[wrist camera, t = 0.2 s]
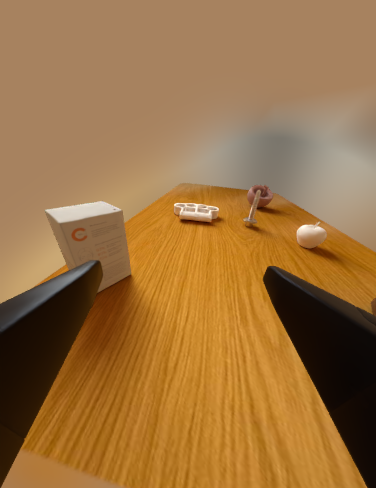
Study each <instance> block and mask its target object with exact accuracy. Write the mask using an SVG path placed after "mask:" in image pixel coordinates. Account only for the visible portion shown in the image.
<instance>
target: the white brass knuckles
mask: <svg viewBox="0 0 376 488" xmlns="http://www.w3.org/2000/svg"><path fill="white" fill-rule="evenodd" d="M218 212H219V209H218V208H217V207H213V206H206V205H202V204H193V203H187V204H184V203H176V204H175V205H174V213H175V214H176V215H179V219H187V220H194V221H205V222H211V220H212V219H216V218H217V217H218Z"/></svg>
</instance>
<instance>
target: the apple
mask: <svg viewBox="0 0 376 488" xmlns="http://www.w3.org/2000/svg"><path fill="white" fill-rule="evenodd" d="M319 223H320V222H318V223H317V224H316V225H315V226H314V225H303V226H301V227H300V228H299V229H298V231H297V242H298V244H299V245H301V246H303V247H305V248H314V247H316V246H317V245H319V244H321V243H322V242H323V241H324V240H325V239H326V236H327V233H326V231H325V230H324V229H322V228H321V227H318V226H317V225H318V224H319Z"/></svg>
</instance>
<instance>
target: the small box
mask: <svg viewBox="0 0 376 488" xmlns="http://www.w3.org/2000/svg"><path fill="white" fill-rule="evenodd" d="M45 213H46V215H47V218H48V220H49V223H50V225H51V227H52V230H53V232H54V235H55V237H56V240H57V242H58V245H59V247H60V249H61V252H62V254H63V257H64V259H65V262H66V264H67V266H68V269H69V270H71V269H73V268H75V267H77V266H79V265H81V264H83V263H86V262H88V261H90V260H99V261H100V262H101V265H102V270H103V279H102V281H101V284H100V287H99V289H98V292H100V291H102V290H103V289H105V288H107V287H109V286H111V285H112V284H114V283H116V282H118V281H120V280H121V279H123V278H125V277H127V276H129V275H131V268H130V260H129V253H128V246H127V240H126V233H125V226H124V219H123V212H122V210H120V209H119V208H117V207H114V206H112V205H110V204H108V203H106V202H103V201H101V202H93V203H87V204H81V205H74V206H69V207H61V208H55V209H48V210H45ZM98 292H97V293H98Z"/></svg>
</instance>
